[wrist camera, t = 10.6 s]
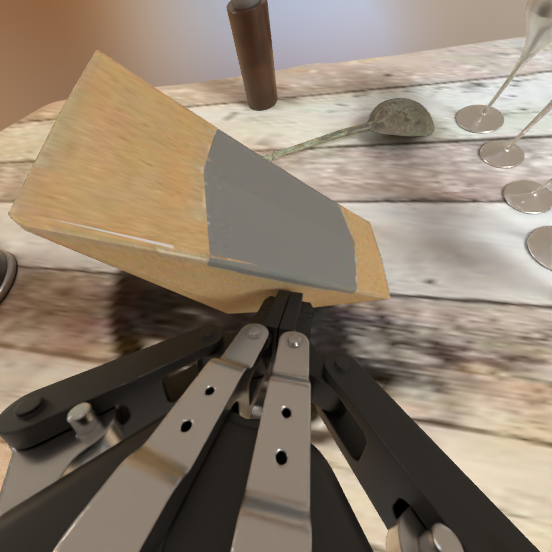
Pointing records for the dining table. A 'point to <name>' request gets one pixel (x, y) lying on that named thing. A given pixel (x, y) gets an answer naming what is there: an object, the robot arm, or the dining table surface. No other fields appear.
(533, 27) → the goblet set
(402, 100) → the soupspoon
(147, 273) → the sandwich container
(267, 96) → the pepper mill
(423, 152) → the dining table surface
